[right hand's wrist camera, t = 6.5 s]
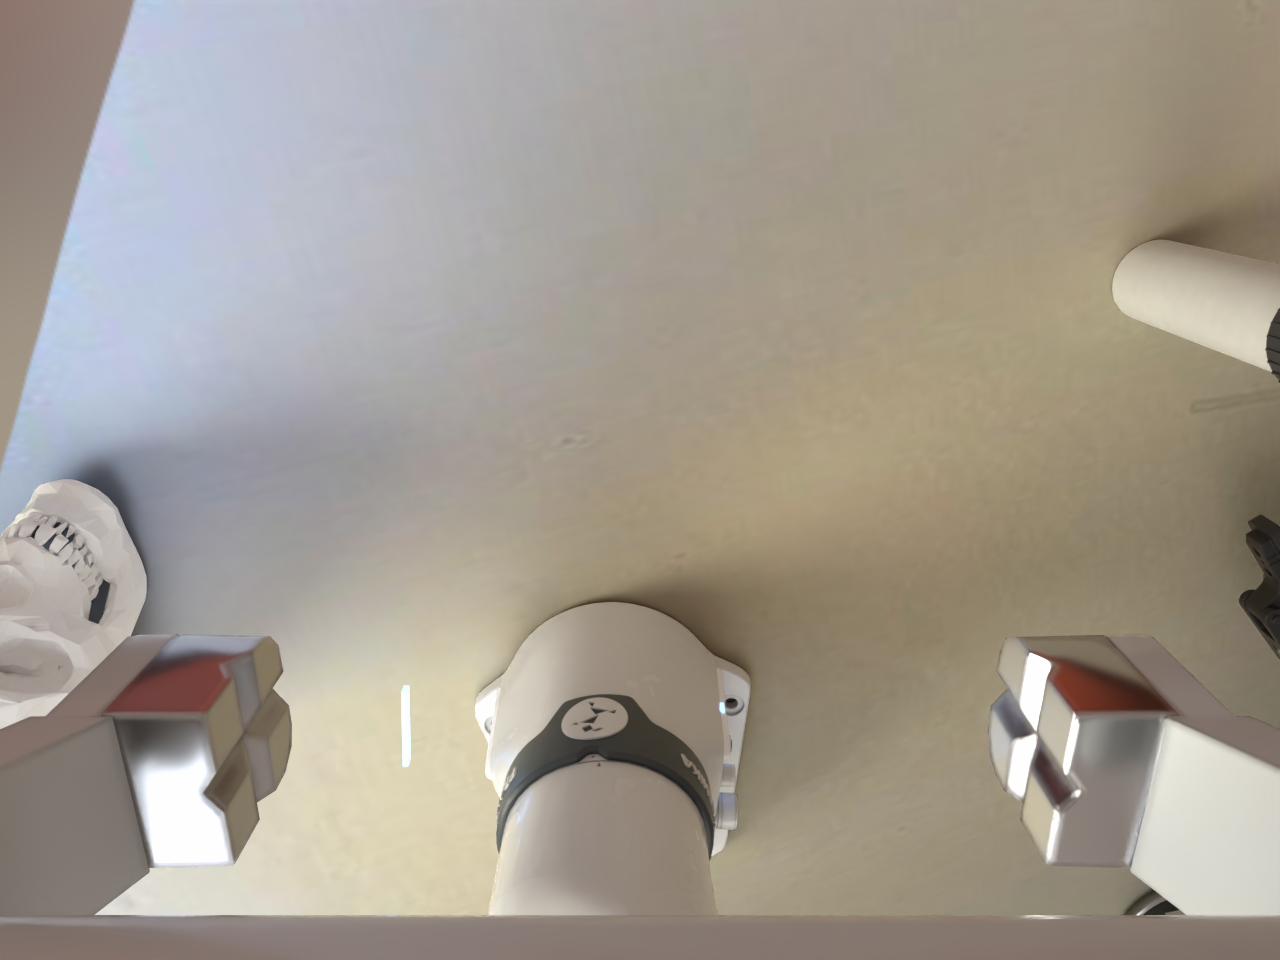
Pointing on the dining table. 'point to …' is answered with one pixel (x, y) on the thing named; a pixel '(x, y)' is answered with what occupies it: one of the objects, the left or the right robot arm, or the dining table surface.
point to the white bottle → (1201, 296)
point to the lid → (1274, 345)
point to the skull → (62, 595)
